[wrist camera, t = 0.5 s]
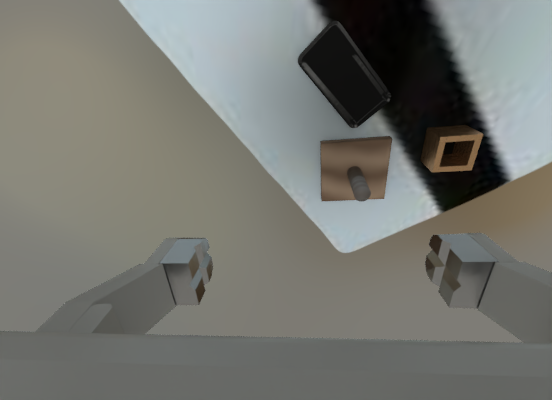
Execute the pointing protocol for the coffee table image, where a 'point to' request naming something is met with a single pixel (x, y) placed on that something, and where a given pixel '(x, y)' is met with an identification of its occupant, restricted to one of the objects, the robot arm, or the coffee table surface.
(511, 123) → the coffee table surface
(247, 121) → the coffee table surface
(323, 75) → the phone
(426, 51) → the coffee table surface
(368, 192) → the post stand
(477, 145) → the wooden square sleeve
